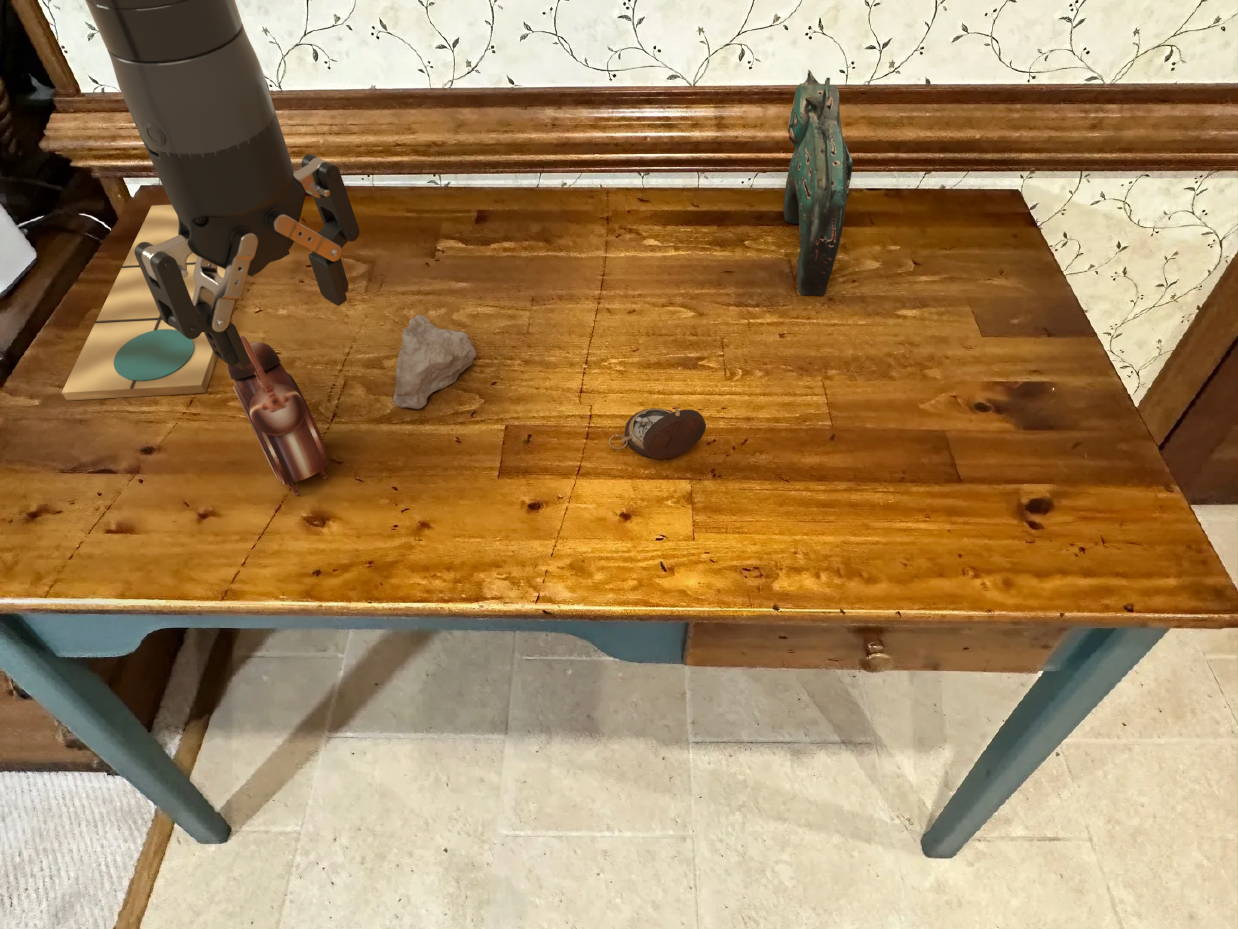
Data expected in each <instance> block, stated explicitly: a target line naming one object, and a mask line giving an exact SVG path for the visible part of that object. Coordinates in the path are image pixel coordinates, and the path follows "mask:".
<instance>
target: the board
mask: <svg viewBox="0 0 1238 929" xmlns="http://www.w3.org/2000/svg"><path fill="white" fill-rule="evenodd" d="M178 229H179V220H178V216H177V214H176V212H175V210H174V208H173V206H172V204H154V205H151V206H150V208H149V210H148V212H147V214H146V217H145V219H144V220H143V223H142V225H141V226H140V230H139V231H138V233H137V235H136V237H135V239H134V241H133V243H132V246H131V248H130V250H129V252H128V254H127V256H126V258H125V260H124V262H123V264H122V265H121V266H120V270H119V273H118V274H117V277H116V279H115V281H114V283H113V284H112V287H111V289H110V290H109V293H108V294H107V298H106V299H105V302H104V304H103V306H102V307H101V310H100V312H99V314H98V316H97V318H96V320H95V321H94V322H93V323H94V324H93V326H92V329H91V330H90V332H89V335H88V337H87V338H86V341H85V342H84V345H83V347H82V349H81V351H80V352H79V355H78V358H77V359H76V362H75V364H74V365H73V368H72V370H71V372H70V374H69V376H68V379H67V380H66V382H65V385H64V386H63V389H62V391H61V395H62V396H63V397H64V398H65V401H68V402H69V401H86V400H101V399H102V400H103V399H104V400H105V399H119V398H120V399H121V398H139V397H155V396H156V397H157V396H174V395H190V394H191V395H193V394H206V392H207V389H208V386H209V384H210V381H211V377H212V374H213V371H214V368H215V365H216V361H217V359H218V357H217V356H216V355H215V354H214V352H213V350H212V348H211V346H210V344H209V342H208V340H207V338H206V336H205V334H204V332H202V333H201V334H200V336H199V337H197V338H195V339H188V338H187V337H185V336H184V335H182V334H181V332H179V331H178V330H176V329H175V328H173V327H171V326H169V325H168V324H166V323H165V322H164V321H163V319H162V317H161V315H160V312H159V310H158V308H157V305H156V303H155V301H154V298H153V296H152V294H151V291H150V289H149V287H148V284H147V282H146V280H145V277H144V275H143V273H142V270H141V268H140V266H139V263H138V261H137V259H136V256H135V253H134V252H135V248H136V246H137V245H138V244H139V243H141V242H149V243H151V244H152V245H154V246H156V245H158V244H160V243H163V242H165V241H167V240H169V239H171V238H173V237H176V236H178ZM196 261H197V255H195V254H194V253H192V254H190V255H189V257H188V258H187V261H186V265H187V271H188V276H187V277H185V278H183V279H184V282H185V285H186V287H187V290H188V292H189V295H190V297H191V300H193V296H194V291H195V287H196V283H195V281H194V278H193V274H194V269H195V265H196ZM217 271H218V274H219V276H221V277H222V278H224V275H225V271H226V270H225V269H223V268H221V267H219V266H218V267H217ZM236 301H237V300H236ZM236 301H235V303H234V307H235V306H236V305H235V304H236ZM234 307H233V309H234Z"/></svg>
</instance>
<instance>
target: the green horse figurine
mask: <svg viewBox="0 0 1238 929" xmlns="http://www.w3.org/2000/svg"><path fill="white" fill-rule="evenodd" d="M840 111H841V110H840V92H839V88H838V87H837V86H836V85H834V84H831V77H826V78H825V80H824V83H820V82H819V81H818V80H817V79H816V77H815V76H814V74H813V73H812V71H811V70H810V69H807V77H806V79H805V81H804V82H801V83H799V84H798V85H797V87H796V89H795V92H794V97H793V102H792V108H791V112H790V114H789V118H788V121H787V132H788V140H789V141H790V142H791V143H792V144H793V147H794V150H793V152H792V155H791V158H790V162H789V165H788V172H787V177H786V182H785V188H784V199H783V208H782V211H783V218H784V222H786V223H788V224H791V225H799V226H798V236H799V252H798V260H797V261H798V262H797V264H798V265H797V272H796V280H797V281H796V282H797V291H798V293H799V294H800V295H801V296H822V297H823V296H824V295H825V294H826V291H827V288H828V285H829V281H830V278H831V275H832V273H833V269H834V264H835V260H836V257H837V254H838V251H839V247H840V243H841V238H842V233H843V230H844V229H843V228H844V222H845V215H846V210H847V203H848V199H849V196H850V185H851V180H852V172H853V164H854V161H853V158H852V155H851V153H850V150H849V147H848V146H847V144H846V141H845V138H844V134H843V129H842V121H841V120H842V119H841V112H840Z"/></svg>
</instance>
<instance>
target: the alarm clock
mask: <svg viewBox="0 0 1238 929" xmlns="http://www.w3.org/2000/svg"><path fill="white" fill-rule="evenodd" d="M239 336H240V338H241V340H242V343H243V345H244V347H245V350H246V352H247V354H248V356H249V359H250V361H251V364H250V365H249V366H247V367H245V368H244V369H240V368H238V367H237V366H235V365H234V366H233V367H231V366H230V365H229V364H227V363H226V367H227V373H228V375H229V378H230V379H231V380H233V382H234V384H233V386H232V388H233V391H234V393H235V394H236V397H237V399H238V401H239V404H240V406H241V408H242V410H243V413H244V415H245V416H246V419H247V420H248V423H249V425H250V427H251V429H252V431H253V433H254V435H255V437H256V439H257V441H258V443H259V446H260V448H261V449H262V452H263V454H264V455H265V456H264V457H265V458H266V460H267V462H268V464H269V466H270V468H271V470H272V472H273V474H274V476H275V478H276V480H277V481H278V482H280V483H282V484H283V485H284V486H286V485H287V486H289V487H290V489H291V490H292V492H293V495H294V497H299V496H300V492H299V491H298V488H297V484H296V482H299V481H300V482H301V481H303V480H306V479H309V478H310V477H312V476H314V475H316V474H318V473H319V474H320V476H322V479H323V480H327V479H328V475H327V474H326V473H325V471H324V470H325V469H327V468H329V462H328V459H327V449H326V448H327V447H326V445H325V442H324V439H323V437H322V434H321V432H320V429H319V428H318V425H317V423H316V420H315V418H314V416H313V414H312V412H311V410H310V407H309V406H308V403H307V401H306V399H305V397H304V395H303V393H302V391H301V389H300V387H299V385H298V384H297V382H296V381H295V379H294V377H293V376H292V374H290V373H289V372H288V371H287V370H286V368H284V366H283V364H282V363H281V359H280V357H279V355H278V353H277V352H276V350H275V349H273V347H272V346H271V345H270V344H268V343H265V342H261V341H253V342H249V341H248V339H247V337H245V336H243V335H239Z"/></svg>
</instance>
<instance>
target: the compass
mask: <svg viewBox="0 0 1238 929" xmlns="http://www.w3.org/2000/svg"><path fill="white" fill-rule="evenodd" d="M673 408H675V409H674V411H671V410H669V409H665V408H659V407H657V408H656V407H655V408H654V407H651V408H646V409H642V410H639V411H637V412H635V413H634V414H633V415H632V416H631V417H629V419H628V421H627V422H626V424H625V429H624V435H622V434H614V435H612V436H610V438H609V439H608V445H609V446H610V448H611V449H614V450H622V449H624V448H626V447H627V445H628V446H629V447H630V448H631V449H632V450H633V451H634V452H635V453H637V454H638V455H641V456H644V457H648V458H652V459H656V460H666V459H671V458H675V457H677V456H680V455H682V454H684V453H685V452H687V451H689V450H690V449H692V448H693V447H694V446H695V445H697V443H698V442H700V440H701V439H702V437H703V436H704V434H705V432H706V429H707V424H706V420H705V418H704V417H703V415H702V414H701V413H700V412H699V411H698V410H695V409H688V408H687V409H680V410H679V408H678V407H677V406H673ZM616 437H621V438H620V441H621V443H622V444H624V445H623V446H620V447H616V446H614V445H613V444H611V440H612V439H613V438H616Z"/></svg>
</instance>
